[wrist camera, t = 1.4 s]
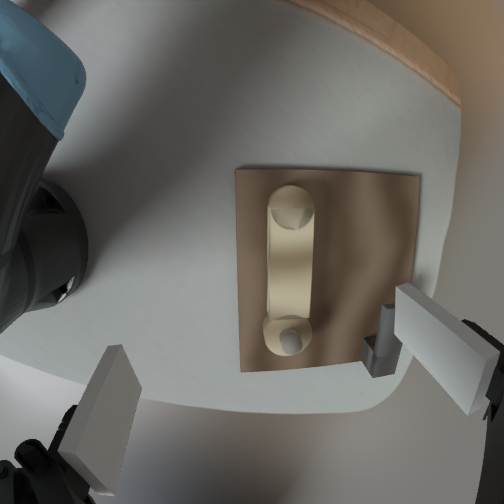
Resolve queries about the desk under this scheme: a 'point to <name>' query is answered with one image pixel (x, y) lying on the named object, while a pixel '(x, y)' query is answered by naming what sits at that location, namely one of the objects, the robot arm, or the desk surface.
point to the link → (289, 270)
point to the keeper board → (331, 265)
